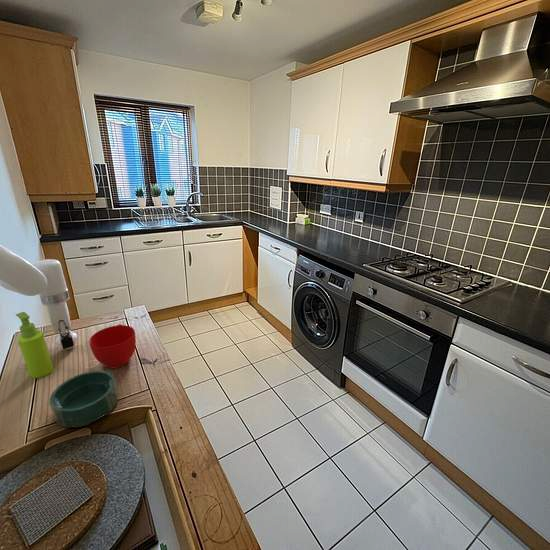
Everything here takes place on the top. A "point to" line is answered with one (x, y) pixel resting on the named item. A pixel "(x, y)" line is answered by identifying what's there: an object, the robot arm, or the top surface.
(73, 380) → the dark green pet bowl
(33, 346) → the soap dispenser
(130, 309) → the top surface
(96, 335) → the red bowl
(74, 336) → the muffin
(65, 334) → the robot arm
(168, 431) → the top surface
